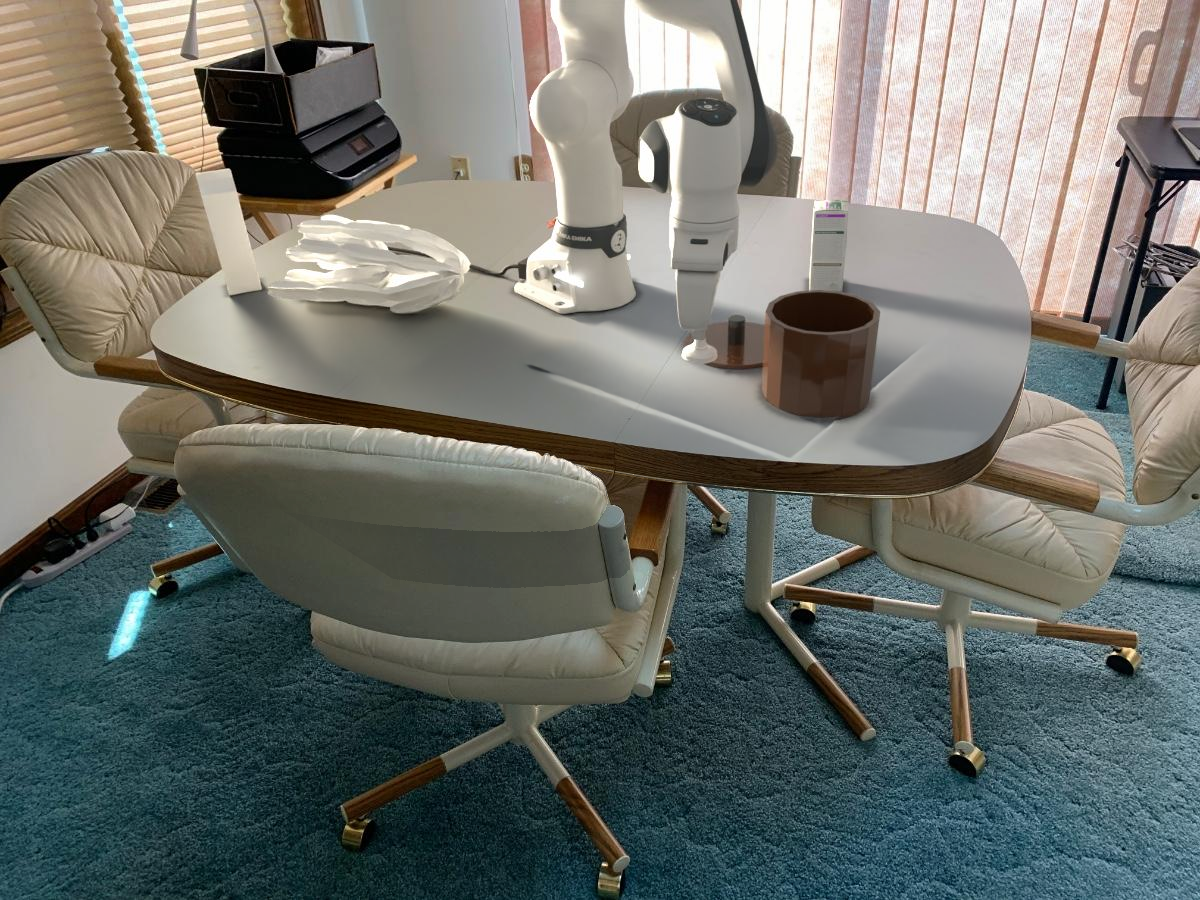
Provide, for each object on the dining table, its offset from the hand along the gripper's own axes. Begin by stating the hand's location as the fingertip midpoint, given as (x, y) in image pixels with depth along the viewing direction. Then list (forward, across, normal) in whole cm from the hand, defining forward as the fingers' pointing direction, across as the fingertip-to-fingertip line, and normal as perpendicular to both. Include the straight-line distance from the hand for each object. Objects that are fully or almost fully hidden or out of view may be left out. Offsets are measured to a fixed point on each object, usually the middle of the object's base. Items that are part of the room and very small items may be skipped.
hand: (700, 332), depth 125 cm
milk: (+12, -32, -90) cm, 96 cm away
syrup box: (+9, -41, +18) cm, 46 cm away
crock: (+9, -1, +16) cm, 19 cm away
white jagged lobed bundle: (+11, -26, -60) cm, 66 cm away
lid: (+9, -14, +4) cm, 17 cm away
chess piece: (+4, 0, 0) cm, 4 cm away
